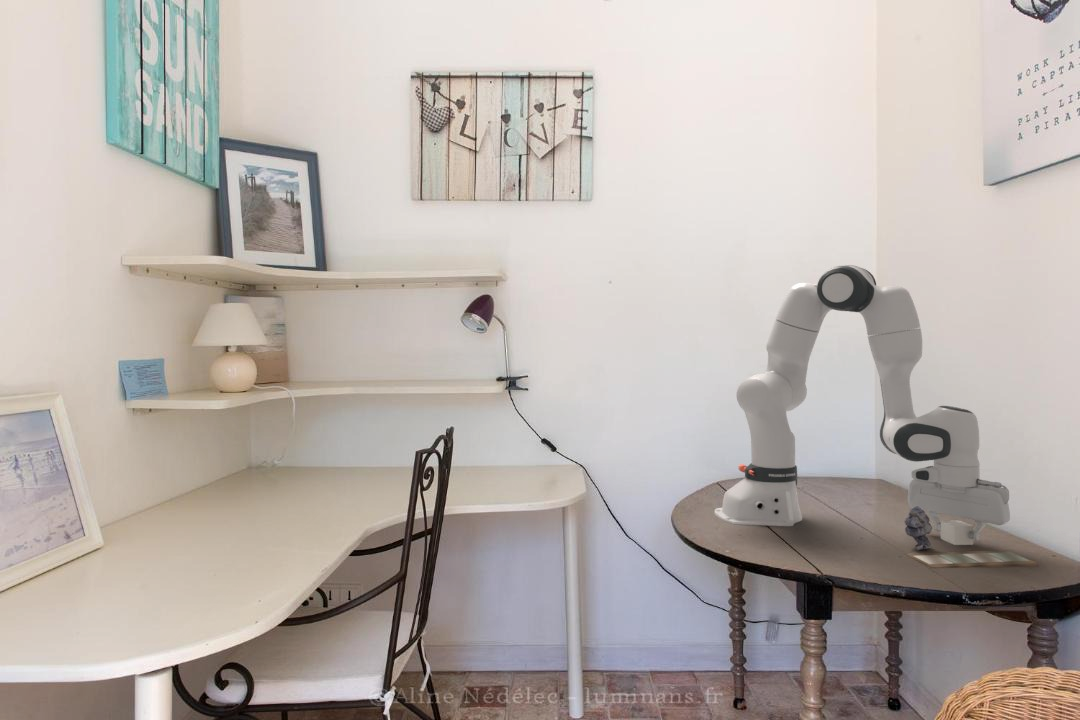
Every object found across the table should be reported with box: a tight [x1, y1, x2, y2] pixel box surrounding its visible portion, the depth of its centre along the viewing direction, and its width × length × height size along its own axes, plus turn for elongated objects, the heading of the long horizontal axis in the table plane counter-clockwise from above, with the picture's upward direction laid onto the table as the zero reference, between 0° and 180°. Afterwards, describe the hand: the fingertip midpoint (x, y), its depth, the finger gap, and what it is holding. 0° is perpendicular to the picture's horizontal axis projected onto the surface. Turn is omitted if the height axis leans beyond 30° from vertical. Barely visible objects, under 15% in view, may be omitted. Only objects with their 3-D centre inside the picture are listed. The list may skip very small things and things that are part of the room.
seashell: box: [904, 506, 933, 551], centre depth 138 cm, size 5×5×10 cm
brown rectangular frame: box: [905, 549, 1039, 569], centre depth 130 cm, size 23×8×1 cm, turn 93°
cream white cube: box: [940, 519, 974, 546], centre depth 143 cm, size 4×4×4 cm
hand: (956, 534), depth 143 cm, fingers closed on cream white cube, 6 cm apart
